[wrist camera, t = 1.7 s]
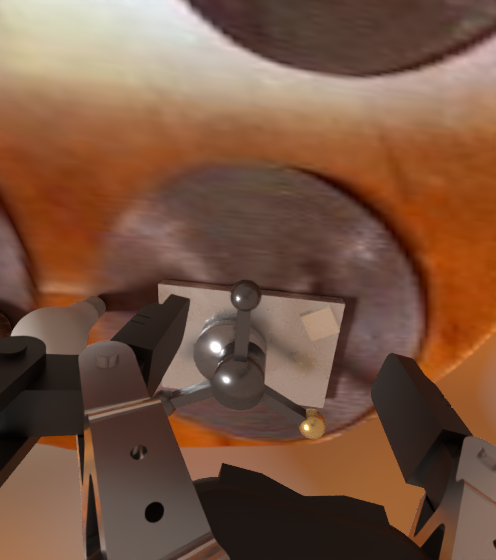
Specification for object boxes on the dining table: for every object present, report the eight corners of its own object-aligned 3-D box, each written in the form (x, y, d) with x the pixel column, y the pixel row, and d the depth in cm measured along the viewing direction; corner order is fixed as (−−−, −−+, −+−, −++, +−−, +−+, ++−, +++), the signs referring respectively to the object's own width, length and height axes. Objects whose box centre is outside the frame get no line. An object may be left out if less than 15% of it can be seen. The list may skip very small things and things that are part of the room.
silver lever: (344, 274, 28) (360, 299, 23) (318, 403, 34) (325, 448, 29) (161, 256, 30) (135, 275, 24) (166, 383, 36) (146, 422, 30)
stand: (342, 297, 32) (346, 305, 30) (321, 398, 37) (323, 410, 35) (163, 279, 33) (156, 285, 31) (166, 378, 38) (161, 388, 36)
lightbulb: (120, 331, 36) (58, 395, 26) (73, 316, 36) (-8, 375, 26) (127, 288, 34) (61, 340, 24) (76, 272, 34) (-12, 317, 24)
